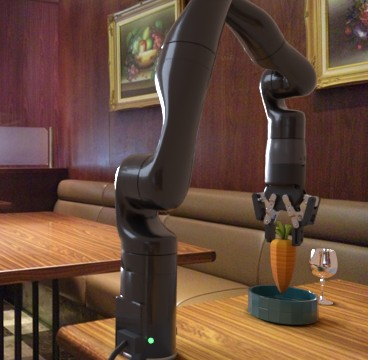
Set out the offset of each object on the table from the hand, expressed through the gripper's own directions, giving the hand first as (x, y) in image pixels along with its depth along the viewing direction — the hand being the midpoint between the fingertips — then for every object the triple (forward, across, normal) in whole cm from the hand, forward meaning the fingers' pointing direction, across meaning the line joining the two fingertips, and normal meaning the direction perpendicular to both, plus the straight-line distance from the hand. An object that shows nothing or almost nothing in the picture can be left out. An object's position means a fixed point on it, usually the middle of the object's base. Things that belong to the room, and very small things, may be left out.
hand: (283, 243), depth 102 cm
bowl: (+15, 0, 0) cm, 15 cm away
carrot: (+11, 0, 0) cm, 11 cm away
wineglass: (+15, -1, +18) cm, 24 cm away
